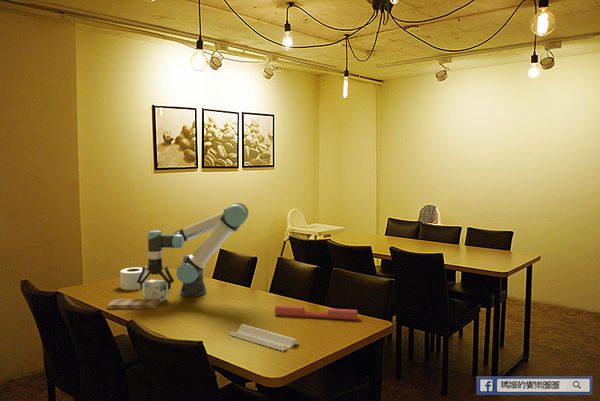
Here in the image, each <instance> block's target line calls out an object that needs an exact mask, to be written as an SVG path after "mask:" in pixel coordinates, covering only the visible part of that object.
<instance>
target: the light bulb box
mask: <svg viewBox="0 0 600 401" xmlns="http://www.w3.org/2000/svg"><path fill="white" fill-rule="evenodd" d="M166 284H167V282H166V281H165V280H159V279H149V280H147V281H145V282H144V288H145V295H144V299H160V303H161V302H164V301H166V300H168V296H167V291H166Z"/></svg>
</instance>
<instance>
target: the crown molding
mask: <svg viewBox="0 0 600 401" xmlns="http://www.w3.org/2000/svg"><path fill="white" fill-rule="evenodd" d="M228 336H232V337H234V336H235V338H237V339H242V340H244V341H248V342H251V343H253V344H258V345H260V344H261V345H260V346H263V345H264V347H267V348H270V347H271V348H270V349H273V348H274V349H273V350H276V349H278V350H277V351H280V350H281V352H285V351H288V350H287V348H285V347H283V346H286V347H289V348H290V349H292V348H293V346H295V345H300V344H299V343H300V342H299V341H298V340H297V339H296V338H293V337H291V336H290V337H289V336H286V335H282V334H279V333H276V332H271V331H268V330H265V329H261V328H259V327H258V328H257V327H254V326H251V325H248V324H247V325H246V324H244V323H242V324H240V326H239V328H238V330H237V331H236V332H235V331H233V330H231V331H230V333H229V335H228ZM273 343H274V344H273ZM277 344H278V345H277ZM280 345H281V346H280ZM291 347H292V348H291Z"/></svg>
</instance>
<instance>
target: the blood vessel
mask: <svg viewBox="0 0 600 401" xmlns="http://www.w3.org/2000/svg"><path fill="white" fill-rule="evenodd" d="M274 315H275V316H283V317H284V316H286V317H299V318H300V317H301V318H315V319H316V318H318V319H331V320H332V319H333V320H346V321H347V320H348V321H357V320H358V310H357V309H348V308H347V309H346V308H344V309H343V308H328V311H313V310H305V306H292V305H280V304H279V305H278V304H277V305H275V307H274Z"/></svg>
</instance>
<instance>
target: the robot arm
mask: <svg viewBox="0 0 600 401" xmlns="http://www.w3.org/2000/svg"><path fill="white" fill-rule="evenodd" d="M248 217H249V209H248V208H247V206H246V205H245V204H243V203H241V202H237V203H232V204H231V205H230V206H228V207H227V208H224V209H222V212H218V213H217V214H215V215H213V216H212V215H211V216H209V217H208V218H204V219H202V220H200V221H197V222H196V223H193V224H190V225H189V226H186V227H183V228H181V229H178V230H175V231H174V232H172V233H171V234H163V233H162V231H161V230H150V231H148V232H147V257H148V259H147V264H148V265H147V266H146V265H144V266H142V267H141V268H142V272H141V274H140V276H139V278H138V280H137V283H140V289H139V290H141V292H142V293H141V295H142V297H143V296H144V297H145V288H144V283H143V282H144V281H145V280H146V279H148V278H149V277H150V275H156V276H157V275H159V276H160V277H162V279H163V281H166V291H167V297H168V296H169V294H170V290H171V288H172V287H171V286H172V285H171V284H173V283H174V282H175V280H174V278H173V275H172V274H171V272H170V270H169V266H168V265H166V266H163V258H162V256H163V249H166V248H168V249H182V248H183V247H184V243H185V242H187V241H189V240H192V239H194V238H197V237H199V236H201V235H204V234H206V233H208V232H209V235H208V236H207V237H206V238H205V239H204V240H203V242H202V243H201V244H200V245H199V247H198V248H197V249H196V250H195V251H194V252H193V253H192V254H188V255H184V256H182V263H181V264H179V265H178V266H177V269H176V272H175V273H176V277H177V279H178V280H179V281H180V282H181V283H182V284H181V288H180V291H179V292H180V295H181V296H183V297H191V298H192V297H193V298H194V297H200V296H203V295H206V294H207V287H206V284H205V280H204V270H205V269H206V263H207V262H208V261H209V259H210V258H212V256H213V255H214V254H215V253H216V251H218V249H219V248H220V247H221V245H223V243H224V242H225V241H226V240H227V238H228V237H229V236H230V235H231V234H232V233H235V232H237V231H238V230H239V228H240V227H241V226H242V225H243V224H244V223H245V222H246V220H247V218H248ZM147 270H148V273H146V276H145V277H144V279H143V280H142V281H140V280H141V278H142V276H143V274H144V272H145V271H146V272H147ZM163 271H164V272H165V273H166V274H165V273H164V272H163Z"/></svg>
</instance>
